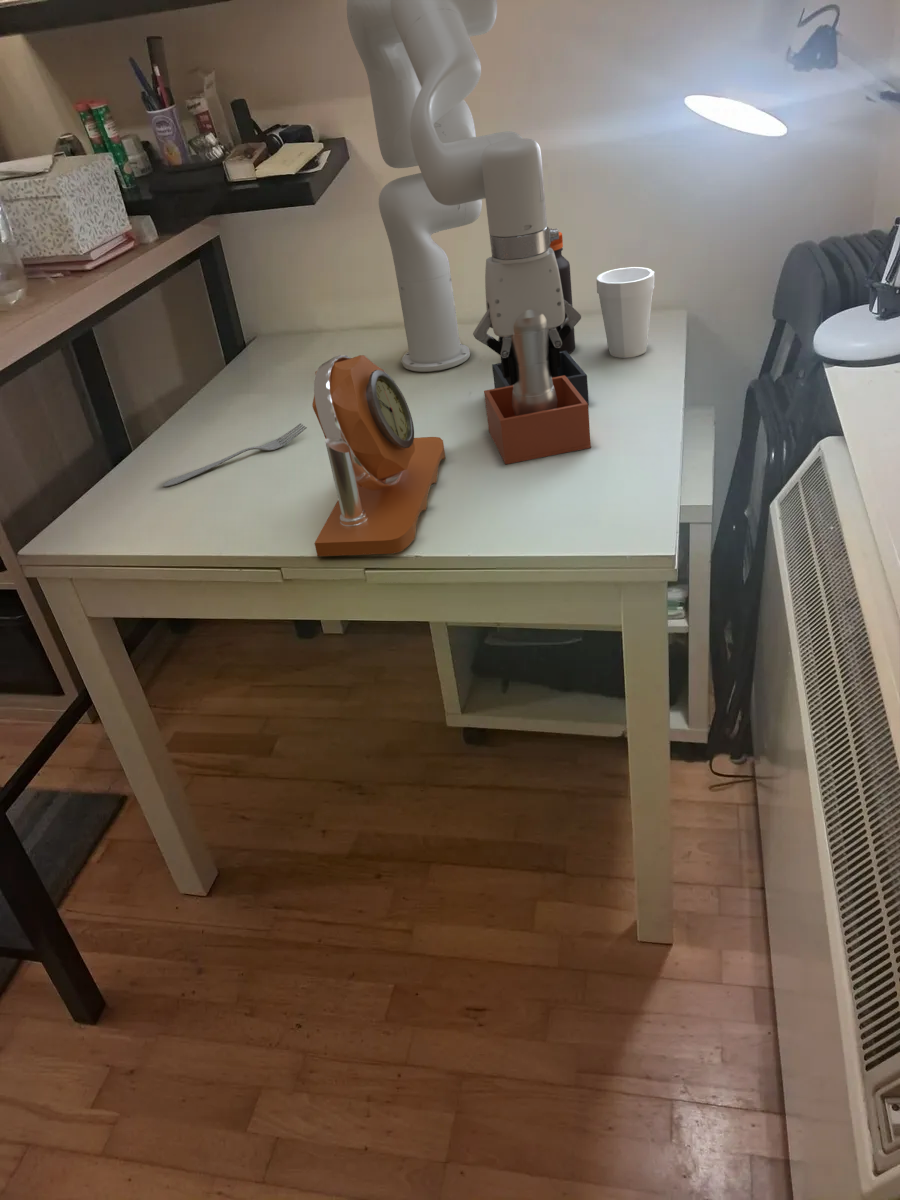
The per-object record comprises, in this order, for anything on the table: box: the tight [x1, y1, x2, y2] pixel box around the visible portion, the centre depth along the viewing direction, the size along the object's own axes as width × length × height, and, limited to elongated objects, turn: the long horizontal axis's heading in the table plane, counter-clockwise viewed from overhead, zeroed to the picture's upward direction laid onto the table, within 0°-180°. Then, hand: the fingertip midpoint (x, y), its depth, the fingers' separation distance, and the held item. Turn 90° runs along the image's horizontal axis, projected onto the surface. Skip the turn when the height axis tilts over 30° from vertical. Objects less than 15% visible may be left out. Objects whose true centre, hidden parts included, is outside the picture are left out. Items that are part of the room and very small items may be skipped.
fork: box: [162, 422, 308, 488], centre depth 146 cm, size 3×24×2 cm, turn 122°
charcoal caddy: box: [491, 351, 590, 407], centre depth 149 cm, size 12×12×5 cm
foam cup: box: [595, 266, 656, 359], centre depth 159 cm, size 10×9×13 cm
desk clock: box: [311, 354, 446, 557], centre depth 122 cm, size 12×30×20 cm, turn 171°
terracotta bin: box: [483, 375, 592, 465], centre depth 136 cm, size 12×12×7 cm
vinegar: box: [550, 231, 576, 355], centre depth 163 cm, size 7×7×20 cm
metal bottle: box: [510, 310, 558, 416], centre depth 130 cm, size 6×7×20 cm
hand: (532, 376), depth 132 cm, fingers closed on metal bottle, 5 cm apart
